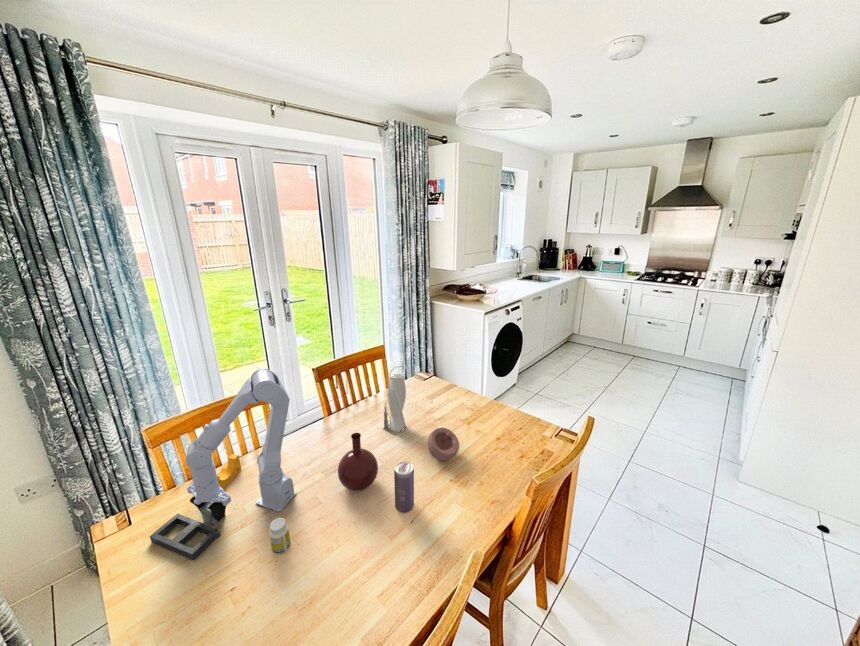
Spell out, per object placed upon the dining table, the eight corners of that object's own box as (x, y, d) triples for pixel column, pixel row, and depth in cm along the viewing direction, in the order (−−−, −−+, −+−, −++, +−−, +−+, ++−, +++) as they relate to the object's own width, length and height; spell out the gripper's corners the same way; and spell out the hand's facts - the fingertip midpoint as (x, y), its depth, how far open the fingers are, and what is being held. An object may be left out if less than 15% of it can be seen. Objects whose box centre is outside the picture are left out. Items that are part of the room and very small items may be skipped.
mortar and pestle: (446, 473, 123) (447, 446, 120) (420, 458, 130) (421, 433, 126) (464, 455, 132) (465, 429, 129) (439, 442, 139) (440, 418, 136)
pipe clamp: (230, 468, 124) (227, 453, 122) (241, 469, 124) (238, 455, 122) (205, 494, 113) (201, 478, 111) (217, 496, 112) (213, 480, 110)
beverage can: (416, 501, 111) (416, 463, 106) (409, 516, 106) (409, 477, 101) (399, 496, 113) (399, 459, 108) (391, 511, 108) (390, 472, 103)
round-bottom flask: (359, 465, 126) (356, 419, 120) (386, 481, 119) (384, 433, 113) (331, 488, 116) (326, 438, 110) (358, 507, 109) (354, 455, 102)
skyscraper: (396, 419, 154) (395, 362, 145) (410, 426, 149) (410, 368, 140) (383, 429, 147) (381, 369, 138) (397, 436, 143) (396, 375, 134)
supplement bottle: (285, 535, 99) (281, 513, 96) (294, 545, 96) (290, 522, 93) (269, 547, 95) (264, 524, 93) (277, 558, 93) (273, 534, 90)
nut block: (225, 516, 105) (222, 500, 103) (214, 527, 101) (210, 511, 99) (215, 512, 106) (212, 497, 104) (203, 523, 102) (200, 507, 101)
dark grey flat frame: (220, 535, 99) (218, 529, 98) (193, 561, 92) (192, 554, 91) (179, 519, 103) (177, 513, 103) (151, 542, 96) (149, 536, 96)
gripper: (173, 483, 97) (183, 519, 102) (212, 496, 93) (221, 534, 97) (196, 466, 104) (205, 501, 108) (233, 478, 99) (241, 514, 104)
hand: (214, 516), depth 103 cm, fingers open, 5 cm apart
